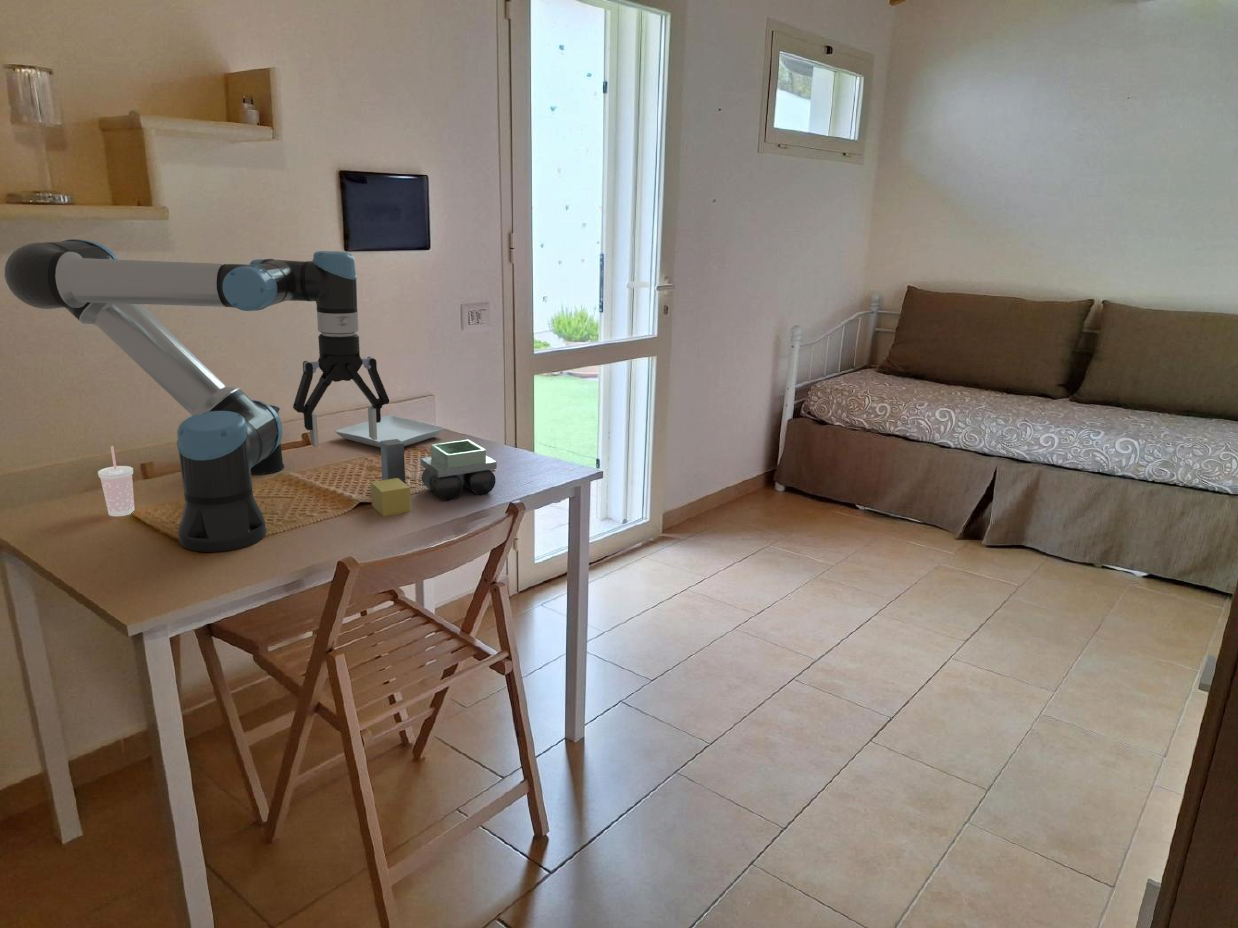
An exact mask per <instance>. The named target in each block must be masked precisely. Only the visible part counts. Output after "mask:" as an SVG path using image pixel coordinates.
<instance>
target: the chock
mask: <svg viewBox="0 0 1238 928" xmlns="http://www.w3.org/2000/svg"><path fill="white" fill-rule="evenodd" d="M370 493H371V494H370V495H371V496H370V497H371V506H372V507H373V508H374V509H375V510H376V511H377V512H378V513H379V514H380V515H381V516H382V517H386V516H390V515H396V514H397V515H398V514H403V513H409V512H411V509H412V508H411V507H412V506H411V488H410V486H408V484H406V482H405V483H404V482H402V481H401V480H400V479H399V478H394V479H388V480H382V479H380V480H376V481H370Z"/></svg>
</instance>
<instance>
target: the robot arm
mask: <svg viewBox="0 0 1238 928" xmlns="http://www.w3.org/2000/svg"><path fill="white" fill-rule="evenodd" d="M312 257H313V259H312V260H307V261H301V260H285V259H274V258H264V259H263V258H261V259H259V258H258V259H254V260H252V261H250V263H249V264H244V263H243V264H241V263H240V264H239V263H212V262H211V263H210V262H209V263H208V262H207V263H206V262H190V261H189V262H186V261H185V262H183V261H161V260H157V261H156V260H134V259H119V257H118V256H117V255H116V254H115V253H114V252H113V251H112V250H111V249H110V248H108V247H106V246H104V245H103V244H101V243H99V242H95V241H91V240H84V239H75V238H72V239H66V240H62V241H47V242H46V241H45V242H33V243H28V244H24V245H23V246H21V247H18V248H17V249H15V250H13V252H12V253H11V254H10V255H9V256H8V258H7V260H6V261H5V265H4V279H5V283H6V284H7V287H8V289H9V290H10V291H11V293H12V294H13V295H14V297H16V298H17V299H18V300H19V301H21V302H22V303H24V304H26V305H29V306H31V307H34V308H37V309H42V310H51V309H52V310H54V309H60V308H62V309H63V308H65V309H66V310H67V311H68V312H69V313H70V314H71V315H73V316H74V317H75V318H76V320H77V321H79V322H80V323H81V324H85V325H86V324H87V325H94V326H96V327H98V329H100V330H101V331H102V332H103V333H104V335H106V336H107V337H108V338H109V339H110V340H111V341H113V343H114V344H115V345H117V347H118V348H120V349H121V350H122V351H123V352H124V353H125V354H126V355H128V357H129V358H130V359H131V360H132V361H134V362H135V363H136V364H137V365H138V366H139V367H140V368H141V369H142V370H143V371H144V372H145V373H146V374H148V375H149V377H151V379H153V380H154V381H155V382H156V383H157V384H158V385H159V387H161V388H162V389H163V390H165V392H166V393H168V394H169V395H170V396H171V397H172V398H173V399H174V400H175V401H176V402H177V403H178V404H179V405H180V406H182V408H183V409H185V410H186V411H187V413H188V414H190V415H191V416H189V417H187V418H185V419H184V420H182V422H181V423H180V424H179V425H178V428H177V431H176V432H177V440H176V446H177V450H178V456H179V457H178V459H179V465H180V471H181V479H182V480H181V481H182V487H183V494H184V495H183V496H184V507H183V510H182V514H181V519H180V523H179V526H178V531H177V533H178V541H179V545H180V546H181V547H183V548H185V549H186V550H189V551H192V552H193V551H194V552H201V553H202V552H203V553H215V552H216V553H217V552H225V551H227V552H228V551H234V550H237V549H241V548H245V547H248V546H251V545H253V544H256V543H257V542H259V541H261V540H262V539H264V538H265V536H266V534H267V526H266V519H265V517H264V516H263V513H262V512H261V509H260V507H259V505H258V503H257V501H256V499H255V497H254V494H253V482H252V474H251V468H252V467H253V466H255V465H256V464H257V463H259V462H260V461H261V460H263V459H265V458H267V457H268V456H269V455H270V454H271V453H273V451H274V450H275V449H276V447H277V446H278V445H279V443H280V441H281V442H282V436H283V423H282V420H281V418H280V415H279V416H278V414H277V413H276V411H275V410H274V409H273V408H272V407H271V406H269V405H270V404H268V403H266V402H264V401H261V400H260V401H259V400H256V399H252V398H250V397H249V396H248V395H247V394H246V393H245V392H244V391H243V390H241V388H240V387H230V386H229V387H228V386H227V385H226V384H224V382H223V381H221V379H219V378H218V376H216V375H215V374H214V373H213V372H212V371H211V370H210V369H209V368H207V366H205V364H204V363H202V361H200V360H199V359H198V357H197V356H195V355H194V354H193V353H192V352H191V351H190V350H189V349H188V348H187V347H186V346H185V344H183V343H182V342H181V341H180V340H179V339H177V337H176V336H174V334H173V333H172V332H170V330H168V329H167V328H166V327H165V326H164V325H163V324H162V323H161V322H160V321H159V320H158V318H156V317H155V316H154V315H153V314H152V313H151V312H150V311H148V310H147V308H145V307H144V306H143V305H159V306H186V307H188V306H190V307H215V308H216V307H219V308H221V307H222V308H235V309H238V310H240V311H245V312H252V311H253V312H254V311H255V312H256V311H261V310H264V309H266V308H268V307H271V306H275V305H278V304H280V303H283V302H290V301H291V302H292V301H293V302H298V301H299V302H315V304H316V319H317V321H316V322H317V331H318V332H319V333H320V334H319V335H318V337H317V338H318V351H319V352H318V353H319V357H318V360H317V361H308V360H304V361H303V362H302V369H303V370H302V371H303V372H302V375H301V379H300V383H299V385H298V389H297V391H296V395H295V399H294V401H293V404H292V408H293V410H295V411H296V412H297V413H301V414H303V421H304V422H303V423H304V428H305V430H307V431H309V437H310V444H311V446H313V447H314V448H319V433H318V432H319V430H318V418H317V417H318V416H317V415H318V414H317V413H315V412H314V411H315V409H316V408H317V406H318V404H319V402H320V400H322V399H321V398H322V397H323V395H324V394H325V392H326V390H327V389H328V388H329V386H331V384H332V382H335V383H337V382H342V381H345V382H348V381H351V380H352V381H353V382H354V383H355V384H356V386H357V387H358V389H359V390H360V391H361V392H362V393H363V395H364V396H365V397H366V399H367V400H368V401H369V403H370V404H371V405H368V406H367V419H368V422H369V437H370V438H372V439H373V440H377V423H379V422H380V421H381V418H382V417H381V416H382V415H381V409H382V408H383V406H385V405H388V404H389V403H390V398H389V397H388V396H389V395H388V393H387V391H386V389H385V386H384V384H383V382H382V379H381V376H380V375H379V372H378V368H377V367H378V366H377V359H375V358H373V357H371V356H368V357H366V358H365V357H364V358H362V357H361V354H360V353H361V352H360V350H361V349H360V336H359V335H358V333H357V332H359V312H358V288H357V286H358V284H357V278H358V277H357V273H356V262H355V257H354V255H352V253H351V252H347V251H338V250H337V251H335V250H333V251H332V250H331V251H330V250H319V251H318V250H317V251H315V252H314V253H313V255H312ZM362 365H363V367H364V369H366V371H367V373H368V375H369V378H370V380H371V382H372V385H373V387H374V389H375V392H376V394H377V397H378V398H377V397H376V395H375V394H374V393H373V392H372V390H371V389H370V388H369V385H367V383H366V382H365V380H363V378H362V376H361V375H360V373H359V370H360V369H361V367H362ZM318 368H319V369H320V371H321V372H322V374H321V376H320V377H319V380H318V382H317V383H316V385H315V387H314V388H313V390H312V392H311V394H310V396H309V397H308V393H309V390H310V388H311V384H312V381H313V377H314V374H315V373H316V372H317V369H318ZM307 397H308V399H307ZM306 400H307V401H306Z"/></svg>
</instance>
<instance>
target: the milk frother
mask: <svg viewBox="0 0 1238 928" xmlns="http://www.w3.org/2000/svg"><path fill="white" fill-rule="evenodd" d="M268 405H269V406H271V407H272V408H273V409H274V410H275V411H276V413H277V414H278V416H279V417H280V410H281V409H280V407H278V406H276V405H271V404H268ZM284 468H285V465H284V462H283V454H282V440H281V441H280V443H279V445H278V446H277V447H276V449H275V450H274V451H273V453H271V454H270V455H269V456H268V457H267V458H265V459H263V460H261V461H260V462H259V463H257V464H256V465H255V466H253V467H252V468H251V475H252V474H253V475H264V474H265V475H267V474H274V473H277V472H280V471H282V470H283V469H284Z"/></svg>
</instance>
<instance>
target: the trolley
mask: <svg viewBox="0 0 1238 928" xmlns="http://www.w3.org/2000/svg"><path fill="white" fill-rule="evenodd" d="M497 464H498V463H497V461H496V460H494V459H493V458H492V457H489V456H487V450H486V449H485V448H484V447H482V446H480V445H478V444H477V443H475V442H474V441H472V440H470V439H463V440H456V441H449V442H448V441H447V442H440V443H431V444H430V456H427V457H420V466H421V467H423V468H424V470H423V471H422V475H421V481H422V484H423V486H425V487H426V488H428V489H429V490H430V491H431V492H432V493H434V494H435V495H437V496H438V497H439V498H440V499H441V500H444V501H445V502H446V501H447V502H448V501H449V502H451V501H454V500H456V499H457V498H459V496H460V495H461V494H462V492H463V491H464V490H463V488H464V487H466V488H467V489H469V490H471V492H473V493H475V494H476V495H479V496H484V495H488V494H490V492H491V491H493V490H494V488H495V486H496V482H497V481H496V476H495V475H496V474H494V473H493V472H492V470H496V469H498V468H497Z"/></svg>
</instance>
